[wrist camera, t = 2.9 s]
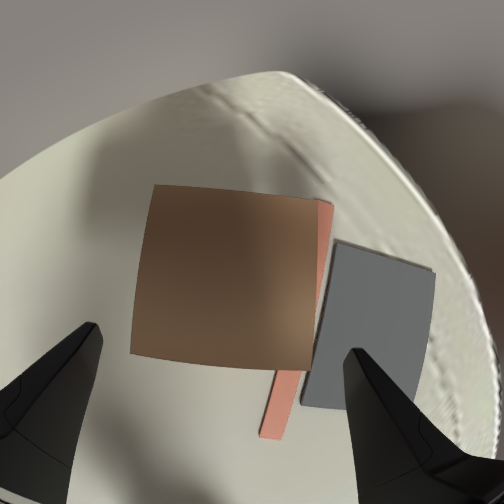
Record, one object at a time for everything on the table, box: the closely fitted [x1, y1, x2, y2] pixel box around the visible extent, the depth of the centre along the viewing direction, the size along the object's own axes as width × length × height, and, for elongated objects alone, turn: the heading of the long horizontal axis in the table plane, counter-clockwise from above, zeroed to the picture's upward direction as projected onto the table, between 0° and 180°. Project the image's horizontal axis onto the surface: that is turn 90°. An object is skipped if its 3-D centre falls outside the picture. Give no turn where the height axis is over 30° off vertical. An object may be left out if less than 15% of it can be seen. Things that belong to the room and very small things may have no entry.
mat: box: [300, 243, 436, 410], centre depth 19 cm, size 12×10×1 cm
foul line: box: [259, 199, 334, 440], centre depth 18 cm, size 18×2×1 cm, turn 166°
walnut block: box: [130, 185, 318, 371], centre depth 13 cm, size 5×5×12 cm
